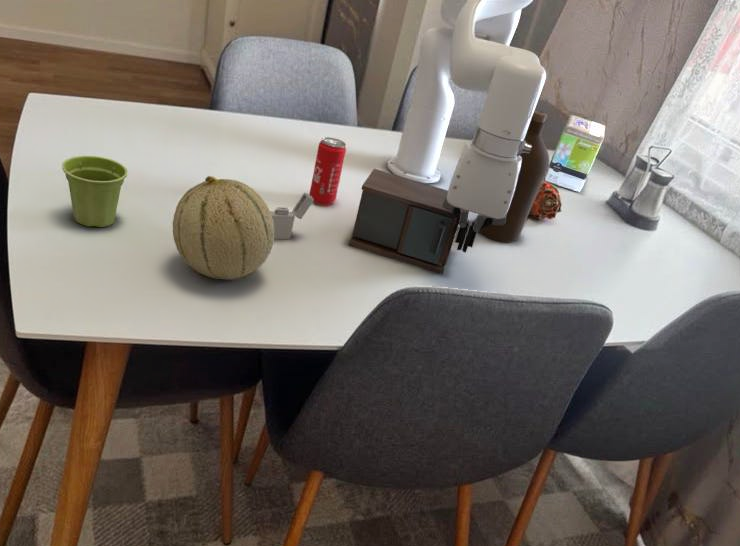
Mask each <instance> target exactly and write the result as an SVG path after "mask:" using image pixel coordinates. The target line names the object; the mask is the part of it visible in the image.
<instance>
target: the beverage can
mask: <svg viewBox="0 0 740 546" xmlns="http://www.w3.org/2000/svg"><path fill="white" fill-rule="evenodd" d="M346 145H347V144H346V142H344V141H342V140H341V139H338V138H335V137H329V136H327V137H322V138H321V139H320V141H319V142H318V147H317V153H316V158H315V163H314V168H313V173H312V179H311V183H310V184H311V185H310V188H309V189H310V190H309V195H310V196H312V198H313V199H314V201H313V203H314V204H315V205H318V206H322V207H331V206H332V205H333V204H334V202H335V201H336V199H337V194H338V190H339V185H340V180H341V175H342V171H343V166H344V161H345V158H346V157H345V156H346V152H347V147H346ZM313 203H312V204H313Z"/></svg>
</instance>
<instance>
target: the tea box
mask: <svg viewBox="0 0 740 546" xmlns="http://www.w3.org/2000/svg"><path fill="white" fill-rule="evenodd" d="M605 131H606V125H604V124H601V123H598V122H595V121H592V120H589V119H586V118H583V117H581V116H577V115H573V114H569V116H568V118H567V120H566V123H565V125H564V127H563V129H562V132H561V134H560V137H559V140H558V142H557V145H556V147H555V149H554V152H553V154H552V157H551V160H550V161H549V167H548V171H547V173H546V175H545V178H544V181H546V182H549V183H550V184H552V185H555V186H559V187H561V188H565V189H568V190H571V191H574V192H578V193H580V192H581V191H582V189H583V187H584V184H585V182H586V180H587V178H588V175H589V174H590V171H591V169H592V167H593V164H594V161H595V160H596V157H597V155H598V153H599V150H600V148H601V145H602V143H603V142H604V138H605Z"/></svg>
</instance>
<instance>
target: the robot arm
mask: <svg viewBox="0 0 740 546" xmlns="http://www.w3.org/2000/svg"><path fill="white" fill-rule="evenodd" d="M533 1H534V0H441V5H440V17H441V19H442V21H443V22H444V23H445V24H447V25H448V26H450V27H447V26H434V27H431V28H429V29H427V30H426V32H425V33H423V36H422V38H421V41H420V46H419V54H418V60H417V61H418V62H417V70H416V76H415V81H414V84H413V90H412V94H411V98H410V101H409V106H408V109H407V114H406V117H405V122H404V126H403V130H402V133H401V138H400V142H399V145H398V149H397V153H396V157H392V158H389V160H388V161H387V165H386V166H387V168H388V170H389V171H390V173H392V174H395V175H398V176H401V177H405V178H408V179H411V180H415V181H418V182H421V183H425V184H434V183H438V182H439V181H440V179H441V176H442V174H441V171H440V170H439V169H437V166H438V162H439V159H440V158H441V152H442V149H443V145H444V141H445V138H446V136H447V135H446V134H447V131H448V127H449V125H450V122H451V121H450V120H451V118H452V114H453V112H454V107H455V95H454V92H453V90H452V87H451V85H450V83H449V82H450V80H451V81H452V83H453V84H454V85H455V86H456V87H458V88H460V89H463V90H466V91H471V92H475V93H479V94H484V95H486V96H485V99H484V102H483V106H482V108H481V112H480V115H479V118H478V122H477V124H476V128H475V132H474V134H473V137H472V140H468V141H467V142H466V144H465V145H464V147H463V149H462V151H461V153H460V155H459V158H458V160H457V163H456V166H455V168H454V171H453V174H452V177H451V180H450V183H449V186H448V194H447V196H446V198H445V200H444V201H443V204H442V207H443V208H444V209H446V210H448V211H449V212H452V213H453V214H454V216H455V217H456V219H457V221H458V223H459V226H458V229H457V233H456V236H455V239H454V243H456V244H457V248H456V251H459V252H460V251H462V252H463V253H467V250H468V248H469V247H470V248H473V245H474V242H475V239H476V237H477V233H479V231H480V229H483V228H485V227H487V226H489V225H500V226H503V225H505V221H506V214H507V212H508V209H509V207H510V204H511V201H512V197H513V194H514V191H515V188H516V184H517V180H518V176H519V172H520V168H521V162H522V157H521V156H520V155H519V154H521V153H524V152H525V153H530V150H531V147H532V145H530V144H528V143H527V142H525V141H526V140H524V138H525V135H526V133H527V130H528V127H529V124H530V121H531V118H532V116H533V113H534V110H536V107H537V104H538V101H539V99H540V96H541V93H542V90H543V87H544V85H545V81H546V78H547V72H546V69H545V68H544V66H542V64H541V62H540V59H539V57H538V55H536V53H534V52H532V51H530V50H528V49H524V48H521V47H515V46H511V45H510V44H511V42H512V39H513V37H514V36H515V35H514V34H515V33H516V29H517V27H518V26H519V25H518V24H519V22H520V19H521V14H522V9H524V8H526V7H527V6H529V5H530V4H531V3H532V2H533ZM451 27H453V28H451ZM469 213H474V214H477V215H476V217H475V219H474V221H472V222H471V224H469V223H470V220H469Z"/></svg>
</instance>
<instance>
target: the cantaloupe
mask: <svg viewBox="0 0 740 546" xmlns="http://www.w3.org/2000/svg"><path fill="white" fill-rule="evenodd" d="M270 211H271V210H270V209H269V206H268V204H267V202H265V200H264V199H263V197H262V196H261V195H260V193H258V192H257V191H256V190H255V189H254V188H252V187H250V185H248V184H247V183H244V182H242V181H239V180H236V179H229V178H219V179H218V178H216V177H215V176H211V175H207V176H206V177H205V178H204V180H203V181H201V182H200V183H198V184H195V185H194V186H192V187H191V188H189V189H188V190H187V191H186V192H185V193H184V194H183V195H182V197H181V198H180V199H179V200H178V202H177V204H176V207H175V209H174V214H173V220H172V237H173V242H174V245H175V247H176V250H177V252H178V254H179V255H180V257H181V258H182V260H183V261H184V262H185V264H187V266H189V267H190V268H191V269H192V270H194V271H196V272H197V273H198V274H201V275H203V276H205V277H209V278H212V279H219V280H230V281H231V280H237V279H239V278H243V277H246V276H247V275H249V274H251V273H253V272H254V271H256V270H257V269H258V268H260V267H261V266H262V265H263V264H264V263H265V262H266V261H267V259H268V257H269V256H270V254H271V252H272V249H273V248H274V247H273V246H274V242H275V239H274V232H275V227H274V222H273V218H272V216H271V213H270Z"/></svg>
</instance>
